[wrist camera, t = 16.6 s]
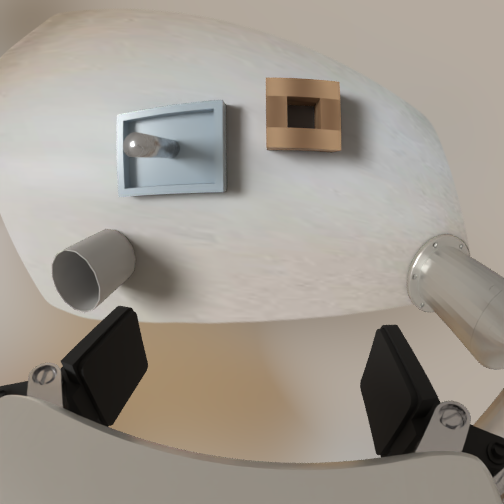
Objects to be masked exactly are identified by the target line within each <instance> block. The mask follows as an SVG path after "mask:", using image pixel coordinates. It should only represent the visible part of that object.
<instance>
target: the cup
mask: <svg viewBox="0 0 504 504" xmlns="http://www.w3.org/2000/svg"><path fill="white" fill-rule="evenodd" d="M135 262H136V258H135V254H134V250H133V246H132V245H131V243H130V242H129V241H128V239H127V238H126V236H124V235H123V234H121V233H120V232H118V231H117V230H111V229H105V230H102V231H100V232H98V233H96V234H94V235H92V236H90V237H88V238H86V239H84V240H82V241H80V242H78V243H76V244H74V245H72V246H70V247H68V248H66V249H64V250H62V251H61V252H59V253H57V254H56V255H55V258H54V260H53V262H52V279H53V282H54V285H55V287H56V290H57V292H58V293H59V295H60V296H61V298H62V299H63V300H64V302H65V303H67V304H68V305H69V306H70V307H72V308H73V309H74V310H77V311H81V312H88V311H91V310H94V309H95V308H96V307H97V306H98V305H99V304H101V303H102V302H103V301H104V300H105V299H106V298H107V297H108V296H109V295H110V294H111V293H113V292H114V291H115V290H116V289H117V288H118V287H119V286H120V285H121V284H123V283H124V282H125V281H126V280H127V279H128V278H129V277H130V275H131V274H132V273H133V271H134V269H135Z"/></svg>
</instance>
